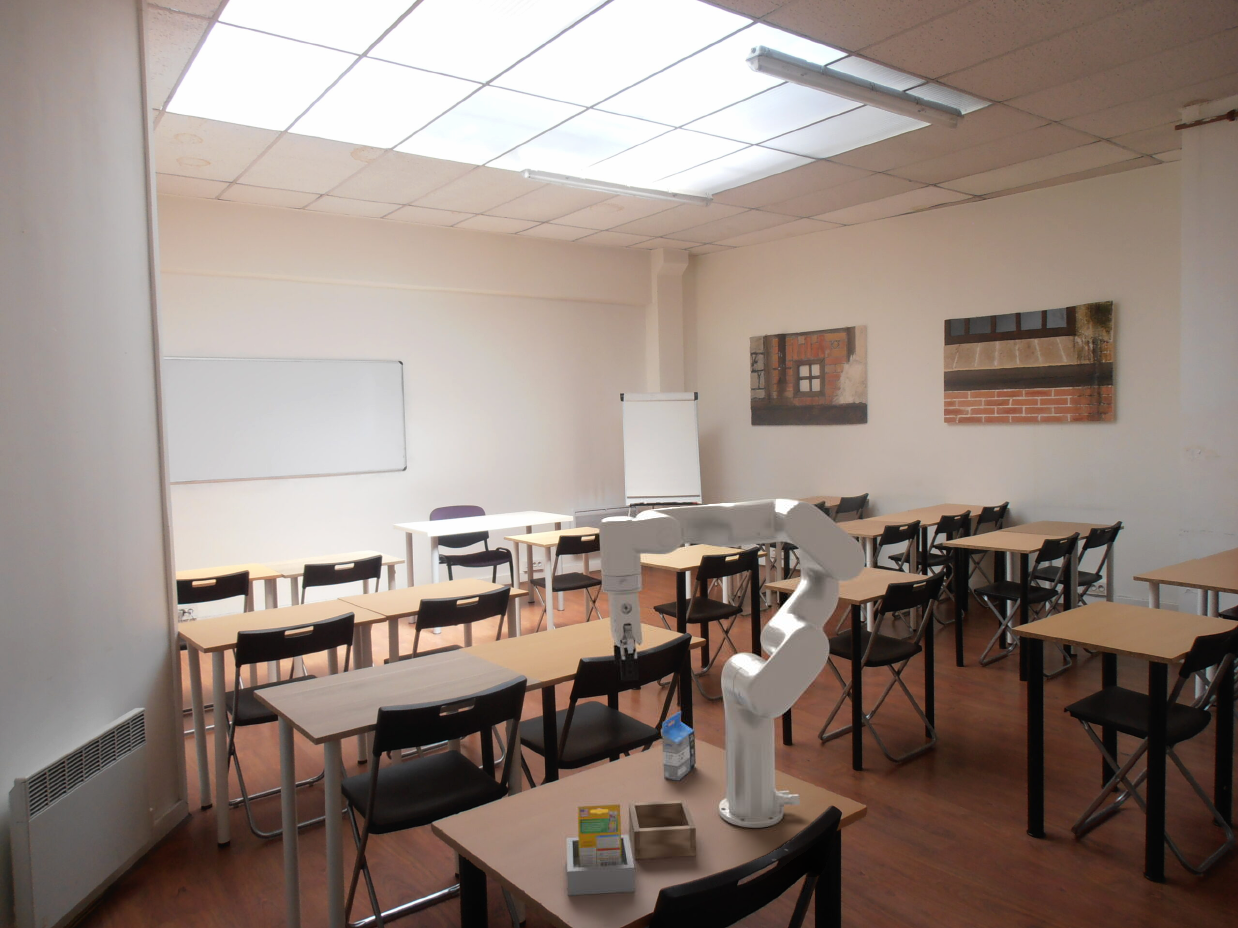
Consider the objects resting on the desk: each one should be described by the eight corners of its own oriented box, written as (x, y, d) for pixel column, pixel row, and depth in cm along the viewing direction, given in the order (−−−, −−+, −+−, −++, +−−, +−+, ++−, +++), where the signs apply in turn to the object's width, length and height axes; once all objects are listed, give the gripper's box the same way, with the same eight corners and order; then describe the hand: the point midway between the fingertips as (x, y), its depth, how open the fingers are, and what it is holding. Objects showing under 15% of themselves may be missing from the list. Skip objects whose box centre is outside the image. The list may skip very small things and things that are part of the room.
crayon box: (620, 862, 139) (619, 796, 139) (622, 871, 136) (620, 804, 136) (578, 864, 139) (577, 798, 138) (579, 874, 136) (577, 806, 135)
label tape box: (678, 781, 174) (677, 725, 173) (662, 777, 176) (661, 722, 175) (696, 766, 181) (695, 713, 181) (680, 763, 183) (679, 710, 183)
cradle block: (628, 856, 143) (628, 834, 143) (634, 891, 132) (634, 867, 132) (567, 859, 142) (566, 837, 142) (567, 895, 131) (567, 871, 131)
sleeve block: (686, 825, 154) (685, 799, 154) (696, 855, 143) (695, 827, 143) (629, 828, 153) (628, 803, 153) (634, 858, 142) (634, 831, 142)
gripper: (649, 589, 142) (653, 684, 143) (634, 573, 159) (638, 657, 160) (607, 592, 141) (612, 688, 142) (597, 575, 158) (601, 661, 159)
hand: (626, 672), depth 151 cm, fingers open, 9 cm apart
